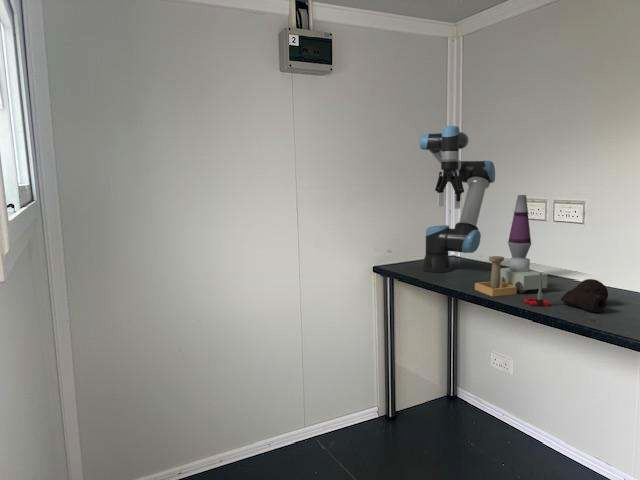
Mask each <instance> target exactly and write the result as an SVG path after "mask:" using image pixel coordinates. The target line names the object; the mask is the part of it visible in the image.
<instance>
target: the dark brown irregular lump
mask: <svg viewBox="0 0 640 480" xmlns="http://www.w3.org/2000/svg"><path fill="white" fill-rule="evenodd" d="M608 297H609V292H608V289H607V287H606V285H604V284H603V283H602V282H601V281H599V280H598V279H594V278H593V279H592V278H587V279H584V280H582V281H581V282H580V283H578V284H577V285H576V286H575V287H574V288H572V289H571V290H568V291H566V292H565V293H564V295H563V296H562V297H561V298H560V301H562V302H563V303H564V304H566V305H568V306H572V307H575V308H576V307H578V308H581V309H583V310H584V311H587V310H588V312H589V311H591V312H590V313H595V312H598V313H601V312H603V311H604V310H605V309H606V306H607V299H608Z"/></svg>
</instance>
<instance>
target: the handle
mask: <svg viewBox="0 0 640 480" xmlns="http://www.w3.org/2000/svg"><path fill="white" fill-rule="evenodd" d="M504 260H505V257H504V256H501V255H500V256H499V255H497V256H496V255H494V256H493V255H492V256H489V257H488V261H490V262H491V273H490V281H491V288H493V289H495V288H499V287H500V279H501V276H500V268H501V264H502V262H504Z"/></svg>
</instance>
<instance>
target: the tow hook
mask: <svg viewBox="0 0 640 480" xmlns="http://www.w3.org/2000/svg"><path fill="white" fill-rule="evenodd" d="M542 273H543V272H542ZM542 273H540V278H539V289H538V291H537V297H535V298H534V297H530V298H525V299H524V303H525V304H529V305H530V306H535V307H536V306H537V307H549V306H550V302H549V301H548V300H546V299H543V291H542Z"/></svg>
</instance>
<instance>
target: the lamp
mask: <svg viewBox="0 0 640 480" xmlns="http://www.w3.org/2000/svg"><path fill="white" fill-rule="evenodd" d="M513 212H514V213H513V217H512V222H511V228H510V231H509V236H508V241H507V244H508V248H509V251H510V253H511V254H510V255H511V258H514V257H520V258H527V256H528V253H529V250H530V248H531V246H532V240H531V231H530V230H531V229H530V221H529V208H528V200H527V195H526V194H517V199H516V203H515V205H514V211H513Z"/></svg>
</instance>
